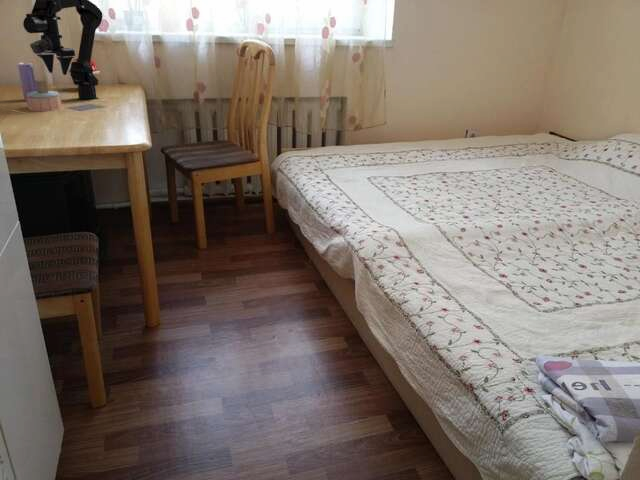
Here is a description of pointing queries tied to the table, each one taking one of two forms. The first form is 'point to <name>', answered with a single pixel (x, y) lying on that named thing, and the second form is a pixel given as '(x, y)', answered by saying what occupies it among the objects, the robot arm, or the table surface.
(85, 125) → the table surface
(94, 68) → the decorative mushroom
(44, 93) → the lid
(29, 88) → the purple rectangular block
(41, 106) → the bowl
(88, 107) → the mat
